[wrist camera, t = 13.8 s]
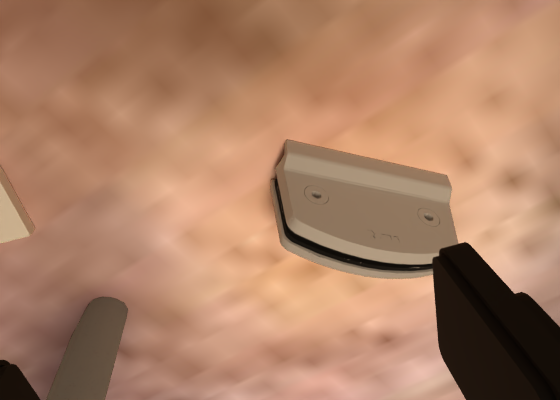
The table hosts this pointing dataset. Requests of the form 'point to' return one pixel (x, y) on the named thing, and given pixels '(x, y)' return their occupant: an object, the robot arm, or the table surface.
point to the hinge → (361, 212)
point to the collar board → (12, 213)
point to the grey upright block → (91, 352)
